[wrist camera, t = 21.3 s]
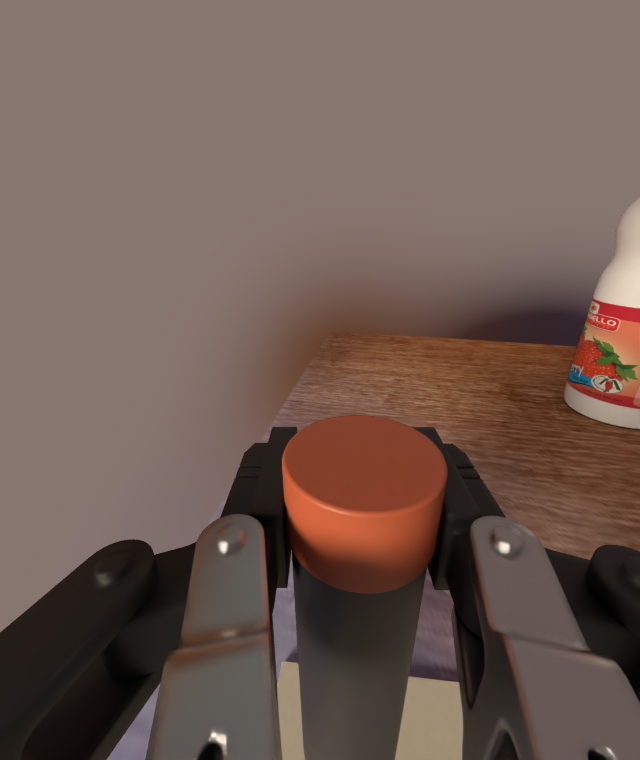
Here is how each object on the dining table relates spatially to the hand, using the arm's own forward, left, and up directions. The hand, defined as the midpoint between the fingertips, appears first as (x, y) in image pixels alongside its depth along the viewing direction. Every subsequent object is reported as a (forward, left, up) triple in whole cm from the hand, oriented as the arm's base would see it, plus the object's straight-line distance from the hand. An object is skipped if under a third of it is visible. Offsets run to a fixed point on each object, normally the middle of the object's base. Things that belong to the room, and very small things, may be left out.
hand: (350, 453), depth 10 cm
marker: (0, -3, -10) cm, 10 cm away
